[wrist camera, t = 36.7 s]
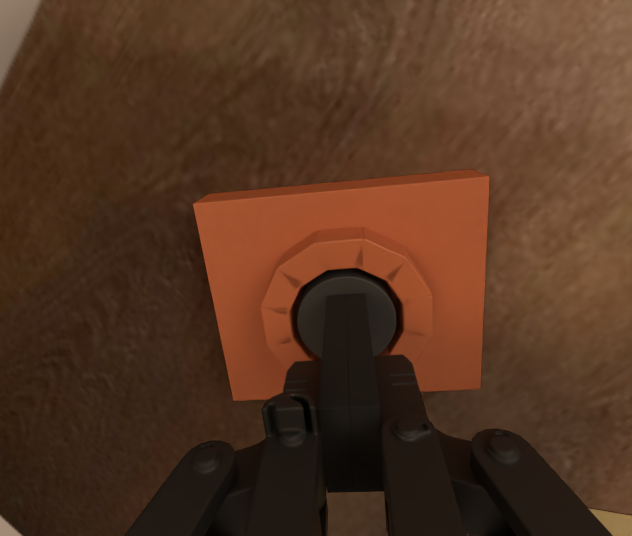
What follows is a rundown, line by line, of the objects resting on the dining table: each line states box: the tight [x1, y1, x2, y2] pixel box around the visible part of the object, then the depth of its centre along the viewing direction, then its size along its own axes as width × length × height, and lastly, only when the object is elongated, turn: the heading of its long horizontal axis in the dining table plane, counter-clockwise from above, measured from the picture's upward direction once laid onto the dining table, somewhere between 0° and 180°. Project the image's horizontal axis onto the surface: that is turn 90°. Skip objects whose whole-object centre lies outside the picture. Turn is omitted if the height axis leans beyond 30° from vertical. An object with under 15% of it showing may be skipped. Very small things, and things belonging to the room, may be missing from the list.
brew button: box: [297, 268, 396, 358], centre depth 17 cm, size 4×4×2 cm
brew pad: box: [193, 169, 490, 401], centre depth 19 cm, size 12×10×4 cm
